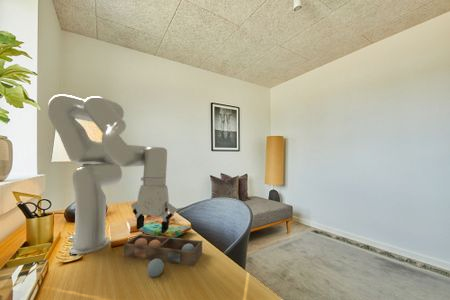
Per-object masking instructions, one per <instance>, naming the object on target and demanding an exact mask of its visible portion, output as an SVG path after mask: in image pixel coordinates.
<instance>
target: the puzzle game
mask: <svg viewBox="0 0 450 300" xmlns="http://www.w3.org/2000/svg"><path fill="white" fill-rule="evenodd" d="M162 222H163V219H162V218H161V217H160V218H159V219H156V220H153V221H150V222H147V223H144V226H143V227H142V228H140V229H139V231H140V232H141V233H142V232H144V233H143V234H145V233H148V234H149V235H153V236H162V237H171V238H178V237H179V236H181V235H182V234H185V233H187V232H188V231H191V230H192V226H189V225H187V224H183V223H179V222H176V221H172V220H170V219H169V228H168V230H167V231H166V232H165V233H161V228H162Z"/></svg>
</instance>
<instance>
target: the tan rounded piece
mask: <svg viewBox="0 0 450 300" xmlns="http://www.w3.org/2000/svg"><path fill="white" fill-rule="evenodd" d="M134 244H137V245H145V246H147V245H148V243H147V240H146V239H144V238H140V239H138V240H136V241H135V243H134Z"/></svg>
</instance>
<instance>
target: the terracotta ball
mask: <svg viewBox="0 0 450 300" xmlns="http://www.w3.org/2000/svg"><path fill="white" fill-rule="evenodd" d="M160 244H161V243H160V241H159V240H152V241H151V242H150V243H149V244H148V246H153V247H158V246H159V245H160Z"/></svg>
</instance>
